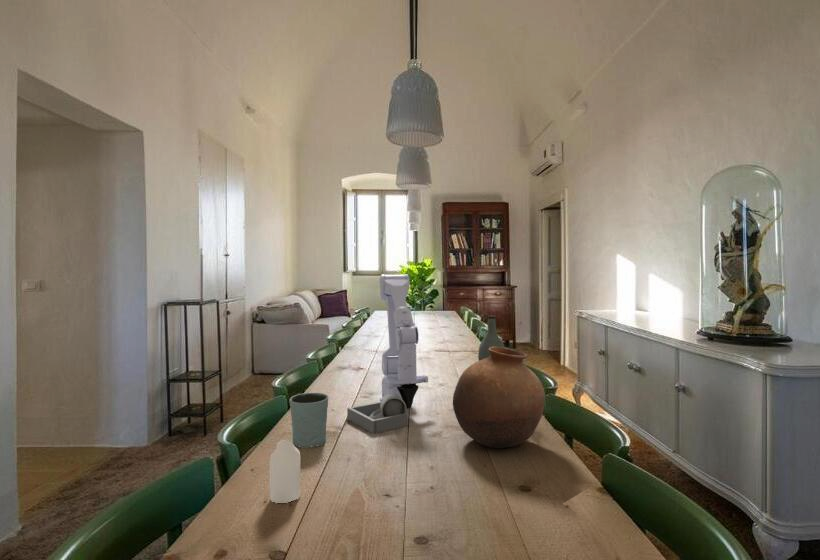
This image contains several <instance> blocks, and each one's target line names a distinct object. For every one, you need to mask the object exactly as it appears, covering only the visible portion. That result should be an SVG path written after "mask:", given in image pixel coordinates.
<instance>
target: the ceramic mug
mask: <svg viewBox="0 0 820 560" xmlns="http://www.w3.org/2000/svg"><path fill="white" fill-rule="evenodd" d="M379 402H380V409H378V410H377V411H375V412H373V413H372V414H371V415H370V416H369V417H370V418H372V419H374V420H375V419H380V418H385V417H389V416H394V415H399V414H404V413H406V414H407V412H408V409H407V408H406V404H405V402H404V401H403V400H402V399H401V398H400V397H399V396H398V395H396V394H388V395H386V396H384V397H383V399H382V400H380V401H379Z"/></svg>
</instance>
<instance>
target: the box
mask: <svg viewBox="0 0 820 560" xmlns="http://www.w3.org/2000/svg"><path fill="white" fill-rule="evenodd" d="M380 402H381V401H377V402H371V403H367V404H362V405H361V404H360V405H356V406H350V407H347V416H346V417H347V420H348V421H349V422H351V421H352V423H353V424H355V425H358V427H361V428H363V429H364V430H365V431H368V432H370V433H371V434H378V433H382V432H386V431H387V432H388V431H391V430H396V429H400V428H406V427H408V425H409V423H408V421H409V420H408V419H409V417H408V413H407V412H406V413H404V414H399V415H394V416H389V417H385V418H380V419H375V420H374V419H372V418H370V415H371V414H372V413H373V412H375V411H377V410H378V409H380Z"/></svg>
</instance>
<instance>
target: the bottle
mask: <svg viewBox="0 0 820 560" xmlns="http://www.w3.org/2000/svg"><path fill="white" fill-rule="evenodd" d="M496 317H497V316H496V315H493V314H491V315H490V314H489V315H487V333H486V334H485V336H484V337H483V339H482V340H481V342H480V344H479V346H478V353H477V357H478V361H480V360H483V359H485V358H488V357H490V356H491V353H490V352H489V350H488V349H489V348H490V347H502V348H506V347H505V344H504V342H503V341H502V340H501V338H500V336H499V335H498V332H497V330H496V329H497V326H496V325H497V323H496V321H497V320H496Z"/></svg>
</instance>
